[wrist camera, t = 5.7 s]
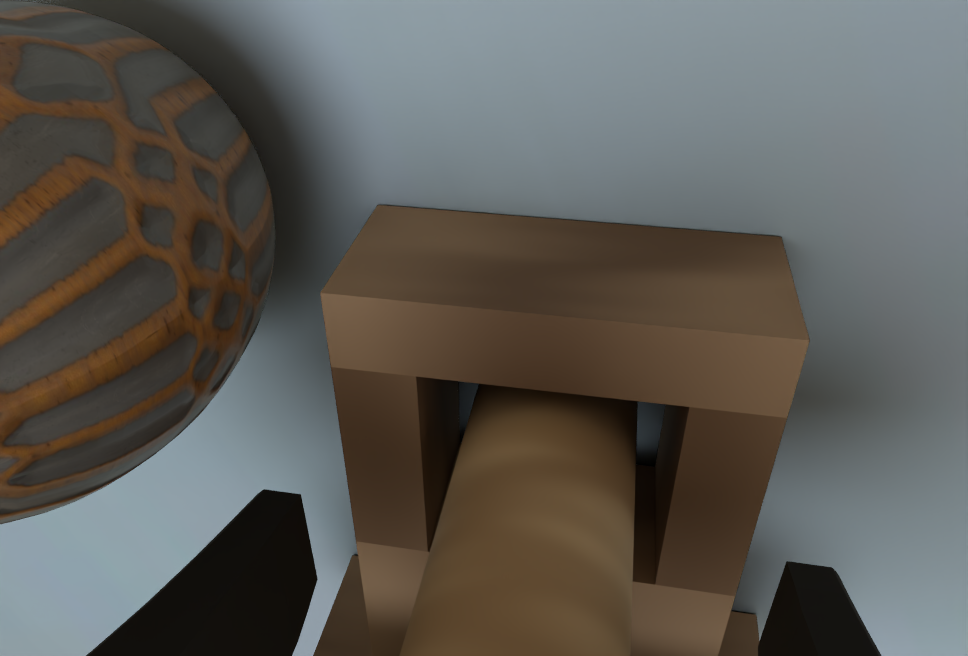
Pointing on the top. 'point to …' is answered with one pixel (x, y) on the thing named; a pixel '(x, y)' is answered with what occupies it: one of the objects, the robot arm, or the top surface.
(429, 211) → the brown boxy frame piece
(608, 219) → the top surface
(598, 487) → the oak peg
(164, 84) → the vase
